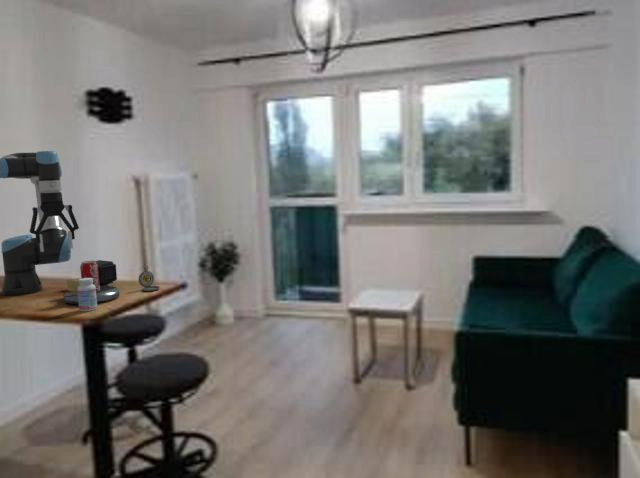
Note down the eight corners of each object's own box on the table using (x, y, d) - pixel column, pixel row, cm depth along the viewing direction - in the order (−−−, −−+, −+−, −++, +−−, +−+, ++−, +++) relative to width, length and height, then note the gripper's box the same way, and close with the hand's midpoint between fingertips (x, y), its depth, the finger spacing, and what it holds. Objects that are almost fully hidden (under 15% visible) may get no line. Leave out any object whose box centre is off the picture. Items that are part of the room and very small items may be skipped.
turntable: (47, 300, 214) (45, 285, 213) (91, 289, 231) (90, 275, 230) (87, 305, 202) (85, 289, 202) (130, 293, 220) (129, 278, 219)
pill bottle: (75, 311, 198) (72, 280, 197) (88, 307, 204) (85, 277, 202) (88, 312, 196) (85, 281, 195) (101, 308, 202) (98, 277, 200)
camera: (81, 289, 240) (101, 289, 231) (77, 263, 239) (96, 262, 230) (103, 284, 248) (123, 284, 239) (99, 259, 247) (119, 258, 238)
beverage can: (89, 294, 211) (86, 263, 210) (79, 293, 215) (76, 262, 213) (103, 291, 217) (100, 260, 215) (93, 289, 220) (90, 259, 218)
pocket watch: (154, 292, 225) (152, 267, 223) (135, 291, 226) (133, 267, 225) (164, 287, 233) (162, 263, 231) (145, 287, 234) (143, 263, 233)
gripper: (19, 194, 204) (26, 254, 207) (84, 190, 217) (89, 247, 220) (16, 193, 210) (23, 252, 213) (79, 190, 223) (84, 245, 226)
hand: (56, 249), depth 216 cm, fingers open, 10 cm apart
